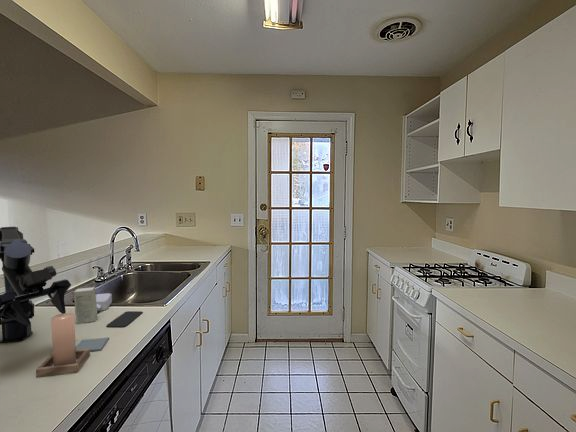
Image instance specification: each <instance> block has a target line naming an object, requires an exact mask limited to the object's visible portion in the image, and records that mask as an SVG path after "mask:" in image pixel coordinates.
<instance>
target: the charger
mask: <svg viewBox="0 0 576 432" xmlns="http://www.w3.org/2000/svg"><path fill="white" fill-rule="evenodd" d="M112 296H113V295H112V293H110V292H109V293H106V292H105V293H96V305H97V312H103V311H106V310H107V309H108V308H109V307H110V306H111V304H112V302H113V297H112Z"/></svg>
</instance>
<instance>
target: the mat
mask: <svg viewBox="0 0 576 432" xmlns="http://www.w3.org/2000/svg"><path fill="white" fill-rule="evenodd" d="M109 340H110V337H98V338H88V339H82V340H80V341H79V343H78V344H77V345H75V346H76V350H81V349H90V353H91V352H101V351H102V350H104V348H105V347H106V344H107V343H108V341H109Z"/></svg>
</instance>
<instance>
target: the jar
mask: <svg viewBox="0 0 576 432" xmlns="http://www.w3.org/2000/svg"><path fill="white" fill-rule="evenodd" d="M50 323H51V325H50V326H51V347H52V353H53V364H52V366H59V365H68V364H75V362H76V361H77V358H76V346H77V345H76V329H75V328H76V326H75V325H76V320H75V313H74V312H72V313H71V312H65V313H64V314H62V313H59V314H55V315H54V316H52V317H51V318H50Z"/></svg>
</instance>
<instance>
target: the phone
mask: <svg viewBox="0 0 576 432" xmlns="http://www.w3.org/2000/svg"><path fill="white" fill-rule="evenodd" d="M142 314H144V312H143V311H141V310H140V311H139V310H138V311H134V310H133V311H127V310H126V311H124V312H122V314H120V315H119V316H118V317H116V318H115V319H113V320H112V321H110V322H109V323H107V324H106V326H105V327H106V329H108V328H112V329H114V328H116V329H117V328H121V329H122V328H126V327H128V326H129V325H130V324H132V323H134V321H135V320H136V319H138V318H139V317H140V316H141V315H142Z"/></svg>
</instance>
